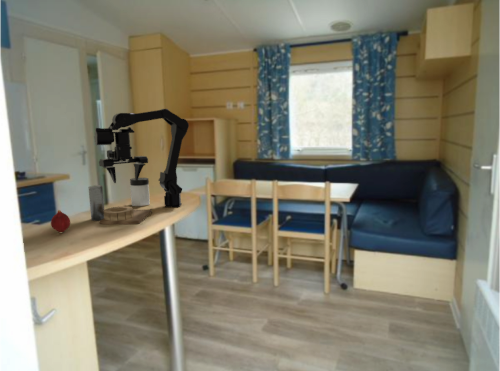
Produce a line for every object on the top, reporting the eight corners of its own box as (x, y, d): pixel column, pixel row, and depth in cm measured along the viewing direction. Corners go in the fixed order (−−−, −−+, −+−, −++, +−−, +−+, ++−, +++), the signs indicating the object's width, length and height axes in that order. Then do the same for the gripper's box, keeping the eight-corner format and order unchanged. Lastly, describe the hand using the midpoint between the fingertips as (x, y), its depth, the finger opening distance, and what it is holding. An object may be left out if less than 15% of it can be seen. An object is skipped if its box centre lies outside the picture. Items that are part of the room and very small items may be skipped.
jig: (151, 212, 150) (151, 202, 149) (139, 223, 132) (138, 212, 131) (117, 212, 149) (116, 202, 149) (100, 224, 132) (99, 213, 131)
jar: (135, 207, 159) (134, 180, 157) (127, 204, 165) (126, 178, 163) (154, 204, 165) (152, 178, 163) (145, 201, 171) (144, 176, 169)
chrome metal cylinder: (107, 217, 142) (104, 185, 140) (102, 220, 137) (99, 187, 135) (94, 217, 142) (91, 185, 140) (89, 220, 137) (86, 187, 135)
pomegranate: (75, 231, 123) (72, 208, 122) (61, 236, 118) (59, 212, 117) (62, 229, 125) (59, 207, 124) (48, 234, 120) (45, 211, 118)
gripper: (136, 142, 158) (138, 177, 160) (92, 144, 145) (96, 182, 148) (147, 143, 149) (150, 179, 152) (102, 145, 137) (106, 185, 140)
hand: (125, 181), depth 148 cm, fingers open, 9 cm apart
